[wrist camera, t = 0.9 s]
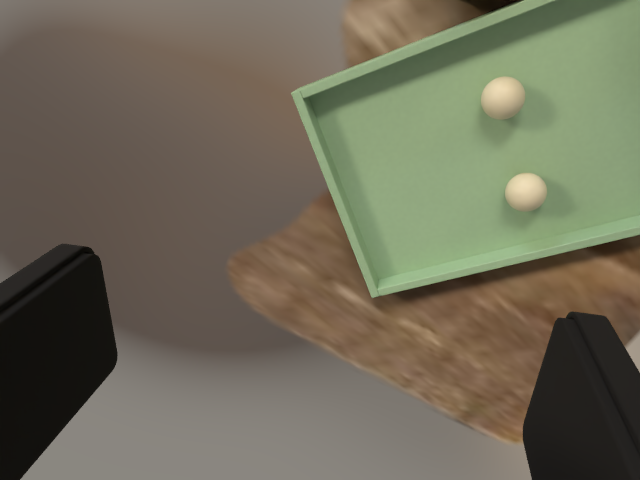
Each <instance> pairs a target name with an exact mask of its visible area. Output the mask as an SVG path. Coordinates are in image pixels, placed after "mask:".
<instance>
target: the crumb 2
mask: <svg viewBox="0 0 640 480" xmlns="http://www.w3.org/2000/svg"><path fill="white" fill-rule="evenodd" d="M546 196H547V187H546V184H545V182H544V181H543V180H542V178H540V177H539V176H538V175H535V174H533V173H521V174H518V175H516V176H514V177H513V178H512V179H511V180H510V181H509V182H508V184H507V186H506V188H505V197H506V200H507V202H508V204H509V205H510V206H511V207H512V208H514V209H516V210H518V211H522V212H529V211H533V210H535V209H537V208H538V207H540V206H541V205H542V204H543V203H544V201H545V199H546Z"/></svg>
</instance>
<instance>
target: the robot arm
mask: <svg viewBox="0 0 640 480" xmlns="http://www.w3.org/2000/svg"><path fill="white" fill-rule="evenodd" d="M116 362H117V348H116V343H115V337H114V332H113V326H112V320H111V315H110V309H109V304H108V298H107V293H106V287H105V282H104V277H103V271H102V265H101V261H100V258H99V257H98V256H97V255H95V254H94V252H93V250H92V249H91V248H89V247H84V246H77V245H69V244H61V245H58V246H56V247H55V248H53V249H52V250H50V251H49V252H47V253H46V254H44V255H43V256H41V257H40V258H38V259H37V260H35V261H34V262H32V263H31V264H29V265H28V266H26V267H25V268H23V269H22V270H20V271H19V272H17V273H15V274H14V275H12V276H11V277H9V278H8V279H6V280H5V281H3V282H2V283H0V480H20V479H21V478H22V477H23V475H24V474H25V473H26V472H27V471H28V469H29V468H30V467H31V466H32V465H33V464H34V462H35V461H36V460H37V459H38V458H39V456H40V455H41V454H42V453H43V452H44V451H45V449H46V448H47V447H48V446H49V445H50V444H51V442H52V441H53V440H54V439H55V438H56V436H57V435H58V434H59V433H60V432H61V431H62V429H63V428H64V427H65V426H66V425H67V424H68V422H69V421H70V420H71V419H72V418H73V416H74V415H75V414H76V413H77V412H78V410H79V409H80V408H81V407H82V406H83V405H84V403H85V402H86V401H87V400H88V399H89V398H90V396H91V395H92V394H93V393H94V392H95V390H96V389H97V388H98V387H99V386H100V385H101V384H102V382H103V381H104V380H105V379H106V378H107V376H108V375H109V374H110V373H111V372H112V370H113V369H114V367H115V365H116ZM523 442H524V447H525V451H526V455H527V460H528V464H529V468H530V473H531V477H532V480H640V373H639V371H638V369H637V368H636V366H635V364H634V362H633V361H632V359H631V358H630V356H629V354H628V352H627V351H626V349H625V347H624V345H623V344H622V342H621V340H620V339H619V337H618V335H617V334H616V332H615V330H614V329H613V327H612V325H611V323H610V322H609V320H608V319H607V318H606V317H605V316H602V315H594V314H587V313H579V312H570V313H569V314H568V315H567V317H566V318H558V319H557V320H556V321H555V324H554V327H553V330H552V333H551V337H550V340H549V343H548V346H547V349H546V353H545V356H544V359H543V362H542V366H541V369H540V372H539V375H538V378H537V382H536V385H535V388H534V391H533V395H532V398H531V401H530V404H529V407H528V411H527V414H526V417H525V420H524V424H523Z"/></svg>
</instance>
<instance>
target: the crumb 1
mask: <svg viewBox="0 0 640 480" xmlns="http://www.w3.org/2000/svg"><path fill="white" fill-rule="evenodd" d="M524 102H525V90H524V88H523V86H522V84H521V83H520V82H519V81H518V80H516V79H515V78H512V77H507V76H503V77H498V78H496V79H494V80H492V81H491V82H489V83H488V84H487V85H486V87H485V88H484V90H483V92H482V95H481V105H482V108H483V110H484V112H485V113H486V114H487V115H488V116H490V117H491V118H494V119H498V120H504V119H509V118H511V117H513V116H515V115H516V114H517V113H518V112H519V111H520V110H521V108H522V107H523V105H524Z"/></svg>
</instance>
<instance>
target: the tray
mask: <svg viewBox="0 0 640 480" xmlns="http://www.w3.org/2000/svg"><path fill="white" fill-rule="evenodd" d="M503 76H507V77H512V78H515V79H516V80H518V81H519V82H520V83H521V84H522V86H523V88H524V90H525V102H524V105H523V107H522V108H521V110H520V111H519V112H518V113H517V114H516V115H515V116H513V117H511V118H509V119H504V120H498V119H494V118H491V117H490V116H488V115H487V114H486V113H485V112H484V110H483V108H482V105H481V95H482V92H483V90H484V88H485V87H486V85H487V84H488V83H489V82H491V81H492V80H494V79H496V78H498V77H503ZM291 94H292V97H293V99H294V102H295V104H296V107H297V109H298V112H299V115H300V117H301V120H302V122H303V125H304V127H305V130H306V132H307V135H308V137H309V140H310V142H311V145H312V147H313V150H314V153H315V155H316V157H317V160H318V163H319V165H320V167H321V170H322V173H323V175H324V178H325V180H326V183H327V186H328V188H329V191H330V193H331V196H332V198H333V201H334V203H335V206H336V208H337V211H338V213H339V216H340V218H341V221H342V224H343V226H344V229H345V231H346V234H347V236H348V239H349V241H350V244H351V246H352V249H353V251H354V254H355V256H356V259H357V262H358V264H359V267H360V269H361V272H362V274H363V277H364V279H365V282H366V284H367V287H368V289H369V292H370V294H371V297H372V298H374V297H378V296H379V295H380V296H382V295H387V294H391V293H395V292H399V291H404V290H408V289H412V288H416V287H421V286H425V285H429V284H433V283H437V282H442V281H446V280H450V279H454V278H459V277H463V276H467V275H471V274H476V273H480V272H484V271H488V270H493V269H497V268H501V267H505V266H510V265H514V264H518V263H522V262H527V261H531V260H535V259H539V258H544V257H548V256H552V255H556V254H561V253H565V252H569V251H573V250H577V249H582V248H586V247H590V246H594V245H599V244H603V243H607V242H611V241H616V240H620V239H624V238H628V237H633V236H637V235H640V0H519V1H516V2H514V3H511V4H509V5H506V6H504V7H501V8H499V9H496V10H494V11H491V12H489V13H486V14H484V15H481V16H479V17H476V18H474V19H471V20H469V21H466V22H464V23H461V24H459V25H456V26H454V27H451V28H449V29H446V30H444V31H441V32H439V33H436V34H434V35H431V36H428V37H426V38H423V39H421V40H418V41H416V42H413V43H411V44H408V45H406V46H403V47H401V48H398V49H396V50H393V51H391V52H388V53H386V54H383V55H381V56H378V57H376V58H373V59H371V60H368V61H366V62H363V63H361V64H358V65H356V66H353V67H351V68H348V69H346V70H343V71H341V72H338V73H336V74H333V75H331V76H328V77H326V78H323V79H320V80H318V81H315V82H313V83H310V84H308V85H305V86H303V87H300V88H298V89H297V90H296V91H294V92H292V93H291ZM521 173H533V174H535V175H538V176H539V177H540V178H542V180H543V181H544V182H545V184H546V187H547V196H546V199H545V201H544V203H543V204H542V205H541V206H540V207H538V208H537V209H535V210H533V211H529V212H522V211H518V210H516V209H514V208H512V207H511V206H510V205H509V204H508V202H507V200H506V197H505V188H506V186H507V184H508V182H509V181H510V180H511V179H512V178H513V177H514V176H516V175H518V174H521Z"/></svg>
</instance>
